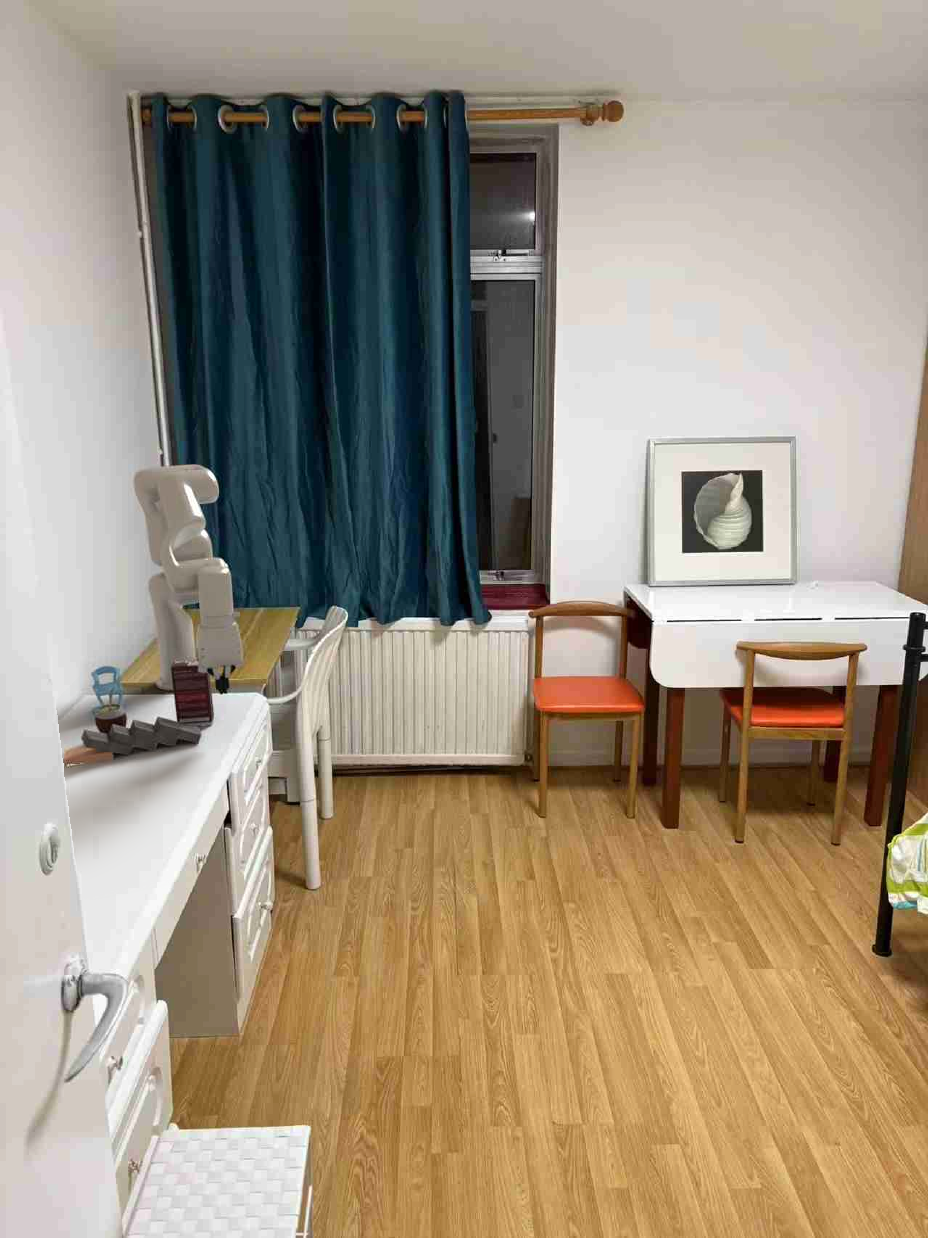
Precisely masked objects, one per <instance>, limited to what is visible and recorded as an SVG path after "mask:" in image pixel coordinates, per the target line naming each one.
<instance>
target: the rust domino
mask: <svg viewBox="0 0 928 1238" xmlns="http://www.w3.org/2000/svg"><path fill="white" fill-rule="evenodd" d="M64 758H65V765H66V766H67V765H68V764H69V765H70V764H79V765H81V764H80V763H85V764H89V763H97V762H101V761H107V760H113V759H114V752H108V751H103V750H97V749H92V748H86V747H85V746H84V747H78V748H72V749H66V750H64ZM67 767H68V766H67Z"/></svg>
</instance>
